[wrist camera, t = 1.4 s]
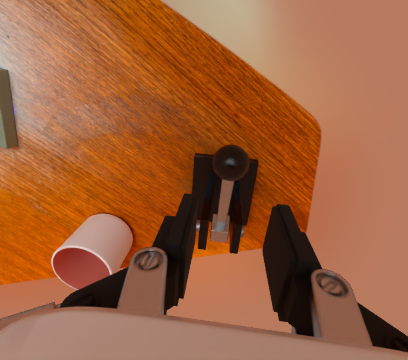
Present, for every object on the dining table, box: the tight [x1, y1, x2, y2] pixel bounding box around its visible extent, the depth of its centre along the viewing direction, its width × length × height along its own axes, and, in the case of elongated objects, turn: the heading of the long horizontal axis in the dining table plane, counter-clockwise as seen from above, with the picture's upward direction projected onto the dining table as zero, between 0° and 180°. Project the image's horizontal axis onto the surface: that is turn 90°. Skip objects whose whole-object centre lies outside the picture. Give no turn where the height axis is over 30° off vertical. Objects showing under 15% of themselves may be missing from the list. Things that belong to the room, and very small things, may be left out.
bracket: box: [192, 153, 259, 254], centre depth 34 cm, size 12×10×13 cm
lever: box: [210, 145, 249, 243], centre depth 25 cm, size 15×3×3 cm, turn 176°
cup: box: [52, 213, 133, 290], centre depth 41 cm, size 10×10×10 cm
